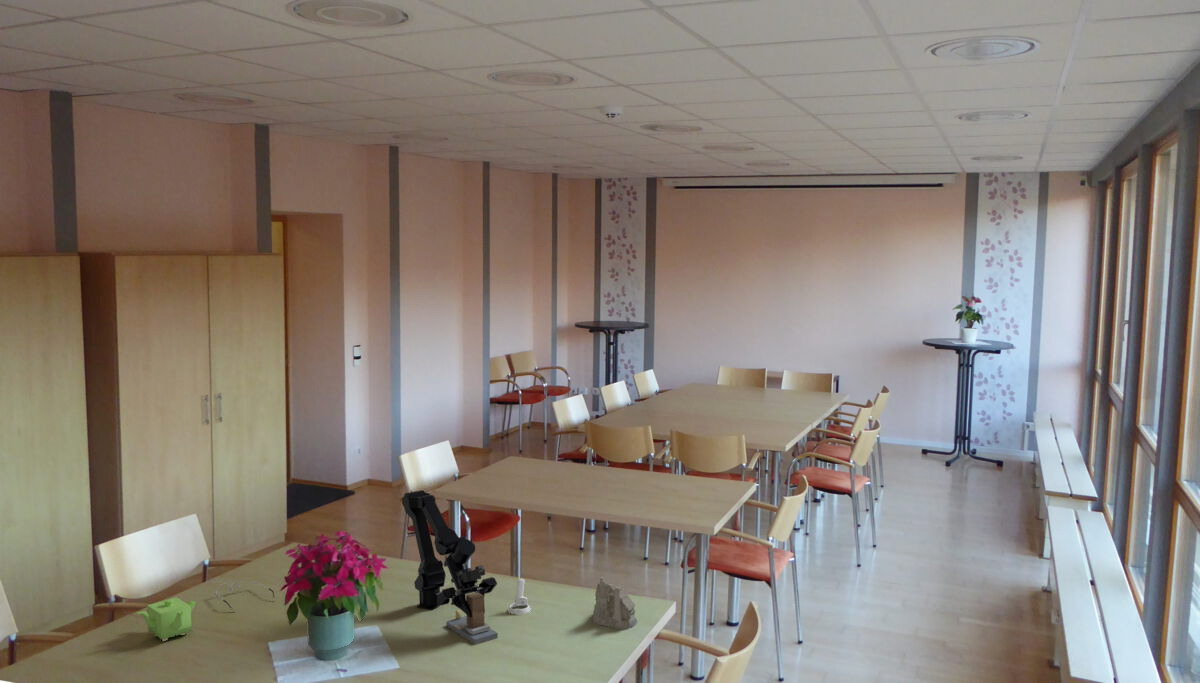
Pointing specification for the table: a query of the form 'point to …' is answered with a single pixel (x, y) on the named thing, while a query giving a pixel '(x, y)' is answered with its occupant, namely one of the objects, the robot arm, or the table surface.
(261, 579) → the table surface
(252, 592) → the table surface
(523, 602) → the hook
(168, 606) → the kettle
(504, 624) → the table surface
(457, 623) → the tensioner track
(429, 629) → the table surface
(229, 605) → the eyeglasses
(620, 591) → the ceramic cottage
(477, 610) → the brown wooden block
